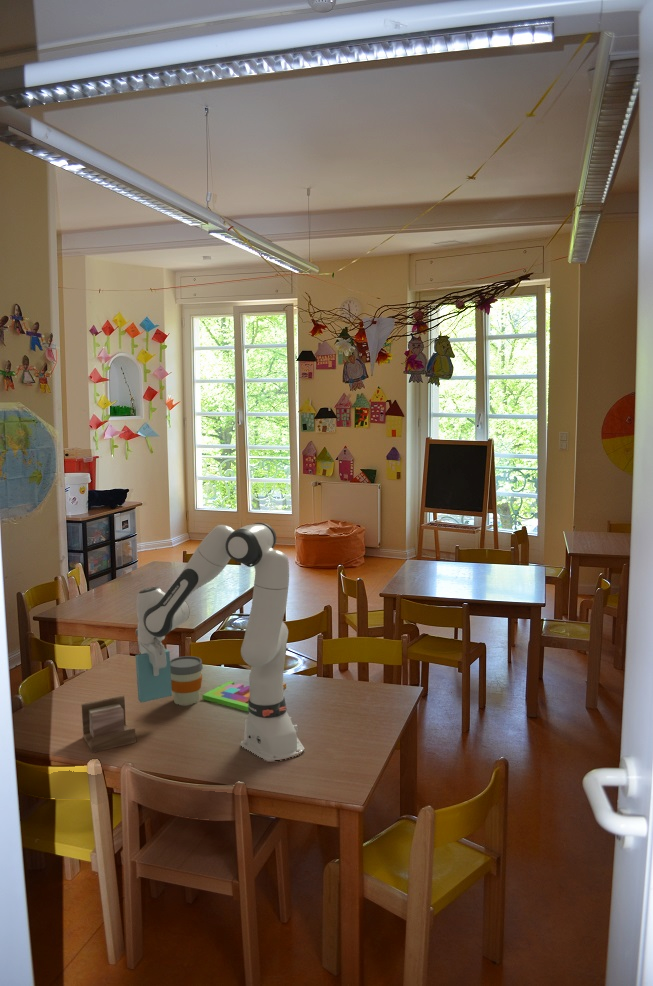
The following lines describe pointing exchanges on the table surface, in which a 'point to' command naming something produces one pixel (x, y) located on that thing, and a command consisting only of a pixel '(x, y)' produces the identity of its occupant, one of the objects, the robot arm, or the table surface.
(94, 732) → the stand
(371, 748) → the table surface
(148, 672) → the teal book
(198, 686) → the reusable coffee cup
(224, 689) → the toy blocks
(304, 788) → the table surface
